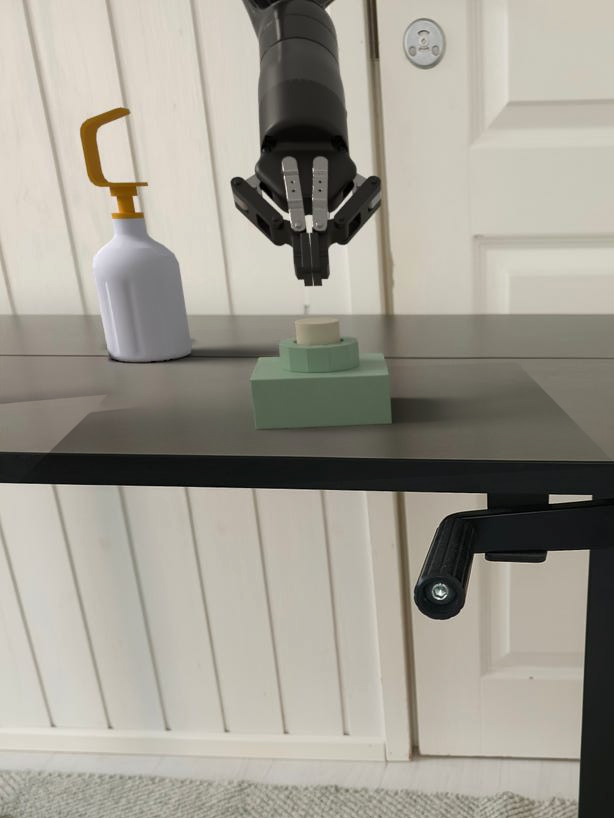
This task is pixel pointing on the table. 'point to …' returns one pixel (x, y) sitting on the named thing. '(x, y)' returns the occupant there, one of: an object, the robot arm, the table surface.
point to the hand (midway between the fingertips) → (313, 279)
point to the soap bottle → (135, 273)
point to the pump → (317, 331)
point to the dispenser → (320, 386)
